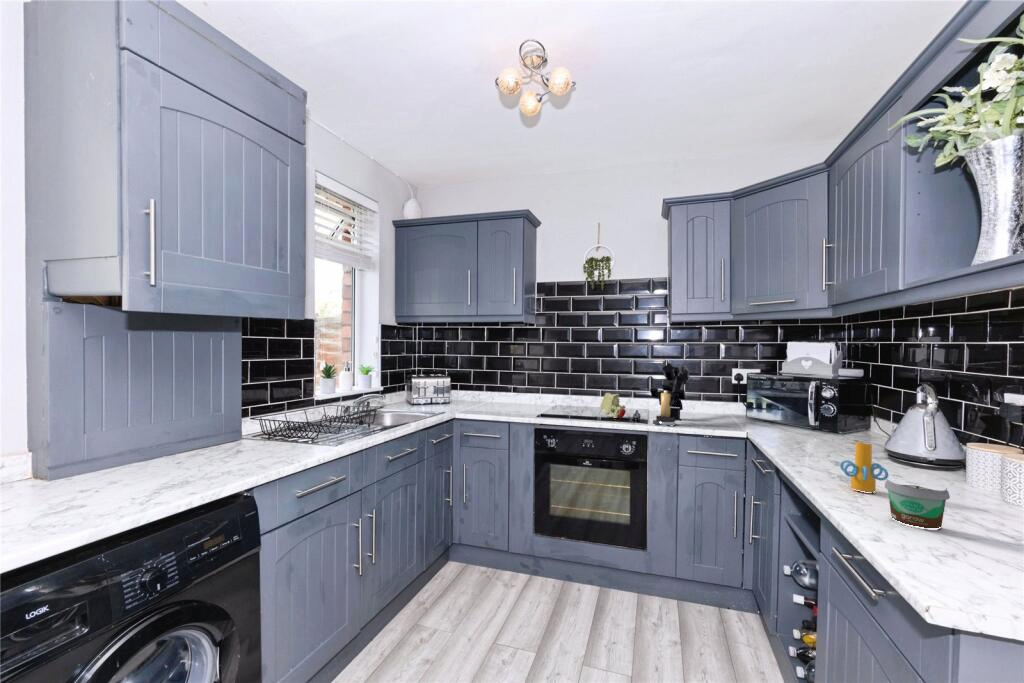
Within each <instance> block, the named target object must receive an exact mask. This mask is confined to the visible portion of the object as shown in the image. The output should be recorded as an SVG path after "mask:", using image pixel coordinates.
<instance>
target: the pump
mask: <svg viewBox="0 0 1024 683" xmlns="http://www.w3.org/2000/svg"><path fill="white" fill-rule="evenodd" d="M660 416H661V417H670V393H668V391H667V390H664V393H661V405H660Z"/></svg>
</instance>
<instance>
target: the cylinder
mask: <svg viewBox="0 0 1024 683" xmlns="http://www.w3.org/2000/svg"><path fill="white" fill-rule="evenodd" d="M854 444H855V448H854V462H853V461H851V460H849V459H844V460H842V461H841V462H840V463H839V468H840V470H841V471H842V472H844V474H845V475H846V476H847V477H850V489H851V488H853V489H856V490H860V491H865V492H874V491H875V490H876V485H877V482H876V480H878V481H887V479H888V478H889V472H888V469H886V468H885V467H883V466H882V465H881V464H880V463H876V462H875V463H873V462H872V461H873V454H872V453H873V444H872V442H867V441H859V440H857V441H855V443H854ZM845 463H847V464H845ZM844 464H845V465H844ZM849 467H852V469H851V470H850V471H849V470H848V468H849ZM877 469H878V470H879V471H878V473H876V474H875V470H877ZM883 473H884V476H883V477H880V476H881V475H882V474H883ZM875 492H876V491H875Z"/></svg>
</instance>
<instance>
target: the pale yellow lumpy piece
mask: <svg viewBox="0 0 1024 683" xmlns="http://www.w3.org/2000/svg"><path fill="white" fill-rule="evenodd" d="M619 397H620V394H619V393H615V394H614V393H610V392H606V393H604V395H603V399H602V400H601V403H600V405H599V407H600V410H599V413H598V415H601V412H602V410H603V413H604V414H605V416H606V415H611V416H613V419H614V418H617V419H618V418H619V419H620V418H622V417H623V418H624V416H625V415H626V412H627V411H626V409H625V408H626V407H627V406H626V405H621V404H620V398H619ZM623 418H622V419H623Z"/></svg>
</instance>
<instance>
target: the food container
mask: <svg viewBox="0 0 1024 683" xmlns="http://www.w3.org/2000/svg"><path fill="white" fill-rule="evenodd" d="M883 487H884V488H885V489H887V491H888V500H889V501H888V502H889V509H890V517H891V516H892V518H894V519H895V520H897V521H900V522H902V523H905V524H909V525H913V526H919V527H924V528H939V527H941V526H942V527H943V520H944V513H945V507H946V502H947V500H950V499H951V497H950V493H949V492H950V491H949V490H948V488H946V489H945V490H936V489H931V488H927V487H923V486H920V485H914V484H899V483H895V482H893V481H890V480H889V479H888V478H887V479H886V480H885V483H884V486H883ZM892 518H891V519H892ZM942 527H941V528H942Z"/></svg>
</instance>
